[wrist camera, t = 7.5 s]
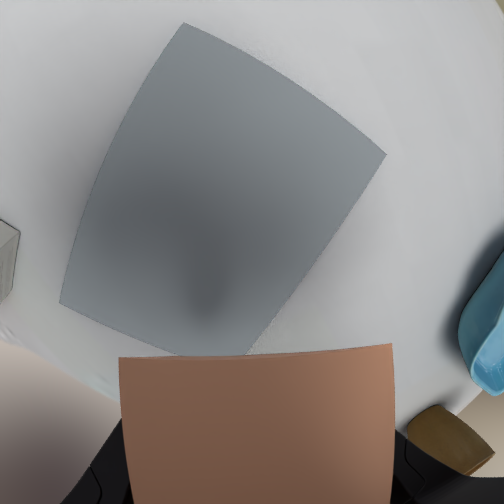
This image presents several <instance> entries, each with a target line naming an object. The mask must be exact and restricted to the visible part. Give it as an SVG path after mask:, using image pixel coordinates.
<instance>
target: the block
mask: <svg viewBox="0 0 504 504" xmlns="http://www.w3.org/2000/svg"><path fill="white" fill-rule="evenodd" d="M119 386H120V403H121V416H122V427H123V436H124V445H125V453H126V460H127V466H128V473H129V479H130V484H131V490H132V495H133V500H134V504H390V498H391V488H392V477H393V464H394V444H395V387H394V366H393V351H392V343H389V344H382V345H374V346H366V347H358V348H348V349H338V350H327V351H314V352H299V353H280V354H260V355H237V356H166V357H119Z"/></svg>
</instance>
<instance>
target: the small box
mask: <svg viewBox="0 0 504 504" xmlns="http://www.w3.org/2000/svg"><path fill="white" fill-rule="evenodd" d="M19 235H20V232H19V231H17V230H15V229H14V228H12V227H10V226H9V225H7V224H6V223H4V222H3V221H1V220H0V304H1V303H2V301H3V300H4V299H5V298H6V296H7V295H8V294H9V293H10V291H11V289H12V282H13V274H14V266H15V259H16V253H17V247H18V241H19Z"/></svg>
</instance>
